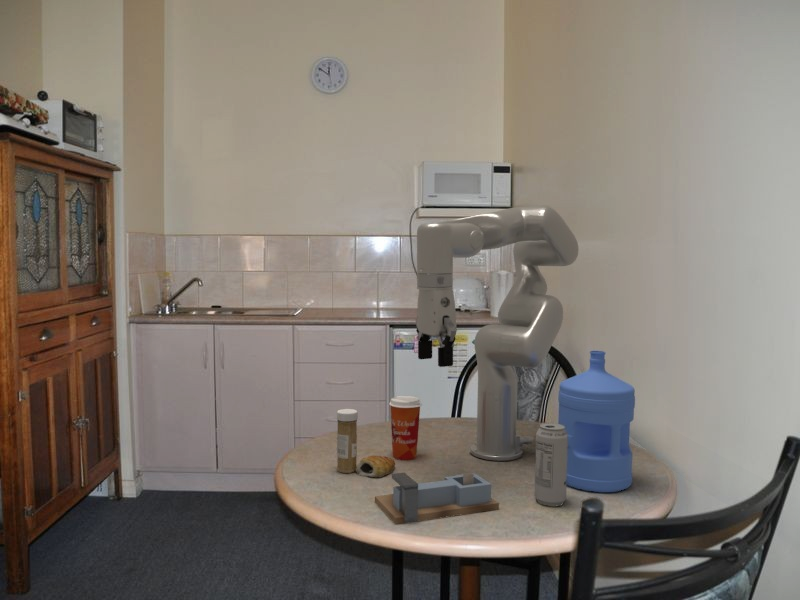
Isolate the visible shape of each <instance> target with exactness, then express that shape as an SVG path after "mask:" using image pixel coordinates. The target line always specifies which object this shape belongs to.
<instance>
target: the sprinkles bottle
mask: <svg viewBox="0 0 800 600" xmlns="http://www.w3.org/2000/svg"><path fill="white" fill-rule="evenodd" d="M358 416H359V415H358V410H356V409H352V408H343V409H339V410H337V412H336V421H337V433H336V436H337V437H336V439H337V441H336V457H337V463H336V465H337V466H336V471H337V472H339V473H343V474H351V473H354V472H357V471H356V467H357V466H358V465H357V455H358V451H357V449H358V448H357V446H358V445H357V444H358V442H357V441H358V440H357V439H358V438H357V437H358V434H357V431H358V429H357V421H358Z"/></svg>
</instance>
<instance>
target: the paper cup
mask: <svg viewBox="0 0 800 600" xmlns="http://www.w3.org/2000/svg"><path fill="white" fill-rule="evenodd" d="M388 404H389V405H390V423H391V425H390V426H391V427H390V428H391V447H392V458H393V459H395V460H398V459H400V460H399V461H412V460H416V458H417V451H418V439H419V428H420V427H419V426H420V414H421V413H420V412H421V406H423V404H422V403H421V400H420V398H418V397H416V396H412V395H411V396H409V395H398V396H394V397H392V398H391V399H390V402H389V403H388ZM411 459H412V460H411Z"/></svg>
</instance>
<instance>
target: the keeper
mask: <svg viewBox="0 0 800 600" xmlns="http://www.w3.org/2000/svg"><path fill="white" fill-rule="evenodd" d="M391 479H392V480H393V481H394V482H396V483H397V485H398V486H401V487H402V514H403V515H404V516H405V523H404V524H407V523H408V522H409V523H415V522H419V521H418V484H419V482H417V481H415V480H414V479H413V478H411V477H410V476H409V475H408V474H406V472H396V473H392V474H391Z"/></svg>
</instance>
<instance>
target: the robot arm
mask: <svg viewBox="0 0 800 600" xmlns="http://www.w3.org/2000/svg"><path fill="white" fill-rule="evenodd" d="M513 244H514V245H513ZM508 245H513V248H512V251H513V260H514V267H515V268H514V269H515V280H514V281H513V284H512V286H511V287H510V289H509V290H508V293H507V294H506V296H505V298H504V300H503V301H502V303H501V305H500V307H499V309H498V312H497V321H498V324H497V323H494V324H493V323H492V324H486V325H484V326H482V327H481V328H480V329H478V331H477V332H476V334H475V337H474V351H475V358H476V363H477V403H476V405H477V406H476V407H477V410H476V413H477V414H476V443H473V444H472V445H471V446H470V448H469V452H470V454H471V455H472V456H474V457H476V458H479V459H482V460H486V461H487V460H488V461H496V462H497V461H498V462H501V461H502V462H504V461H514V460H518V459H520V458H521V457H522V456H523V450H522V448H521V447H523V445H533V444H534V438H533V436H532V435H529V436H527V435H526V436H523V435H522V434H521V435H519V434H517V419H518V418H517V413H518V412H517V411H518V409H517V408H518V380H517V377H516V374H515V371H514V369H513V368H512V367H518V368H524V369H534V368H537V367H540V366H541V364H542V363H543V362H544V361H545V359H546V357H547V355H548V354H549V351H550V349H551V347H552V345H553V344H554V343H555V342H554V341H555V339H556V338H557V336H558V334H559V332H560V330H561V328H562V324H563V320H564V308H563V305H562V302H561V301H560V299H558V298H557V297H556V296H553V295H551V294H547V291H548V284H547V282H546V281H547V280H546V279H545V277H544V276H543V274H542V273H541V271H540V268H539V267H567V266H570V265H572V264H574V262H576V260H577V258H578V255H579V244H578V240H577V238H576V236H575V234H574V232H573V231H572V230H571V228H570V227H569V226H568V224H567V222H566V221H565V220H564V218H563V217H562V216H561V215H560V213H558V212H557V210H556V209H554V208H553V207H552V206H549V205H532V206H531V205H529V206H516V207H510V208H506V209H502V210H497V211H492V212H488V213H482V214H481V213H480V214H477V215H472V216H468V217H461V218H453V219H449V220H443V221H439V222H430V223H422V224H420V225H419V226H418V227H417V230H416V261H417V262H416V273H417V274H416V289H417V290H418V295H417V296H418V297H417V311H416V319H415V325H416V330H415V331H416V332H417V336H416V337H417V358H418V359H419V360H429V359H432V358H433V340H432V337H433V338H437V341H438V343H439V347H437V366H438V367H439V368H445V367H452V366H453V365H454V347H455V341H456V334H457V332H458V329H457V313H456V312H457V311H456V303H455V301H456V300H455V294H454V289H453V288H454V284H453V283H454V281H453V280H454V278H453V277H454V274H453V272H454V271H453V267H454V264H453V263H454V261H453V259H454V258H455V259H456V258H457V259H458V258H462V259H464V258H465V259H466V258H472V257H475V256H476V255H478V254H480V252H481V251H485V250H495V249H499V248H502V247H506V246H508Z"/></svg>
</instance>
